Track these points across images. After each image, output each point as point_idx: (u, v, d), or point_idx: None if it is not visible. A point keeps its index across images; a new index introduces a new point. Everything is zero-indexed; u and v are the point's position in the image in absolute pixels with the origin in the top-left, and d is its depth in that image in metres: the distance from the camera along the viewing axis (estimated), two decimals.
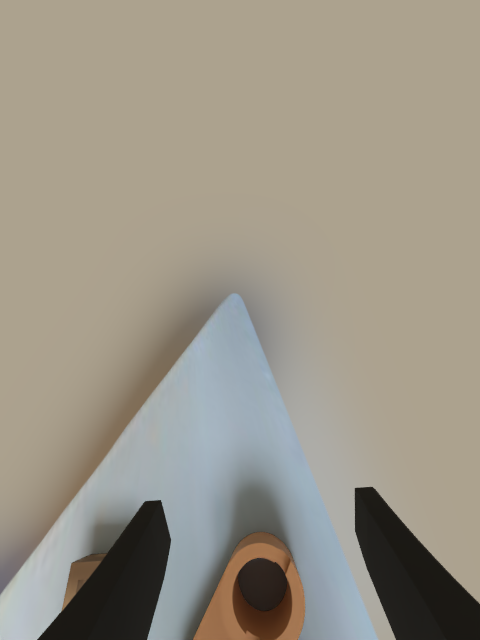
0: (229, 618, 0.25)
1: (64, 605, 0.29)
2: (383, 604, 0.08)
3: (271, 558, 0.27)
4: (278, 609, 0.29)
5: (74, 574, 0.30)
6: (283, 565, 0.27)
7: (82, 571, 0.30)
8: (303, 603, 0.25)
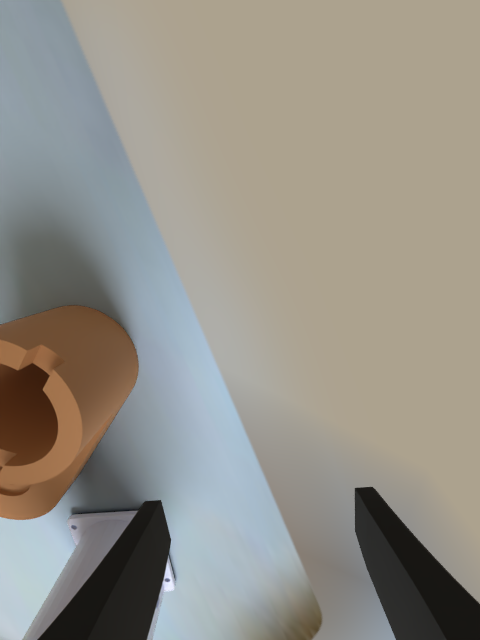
0: None
1: None
2: (383, 604, 0.08)
3: (9, 363, 0.12)
4: None
5: None
6: (51, 370, 0.13)
7: None
8: (79, 427, 0.13)
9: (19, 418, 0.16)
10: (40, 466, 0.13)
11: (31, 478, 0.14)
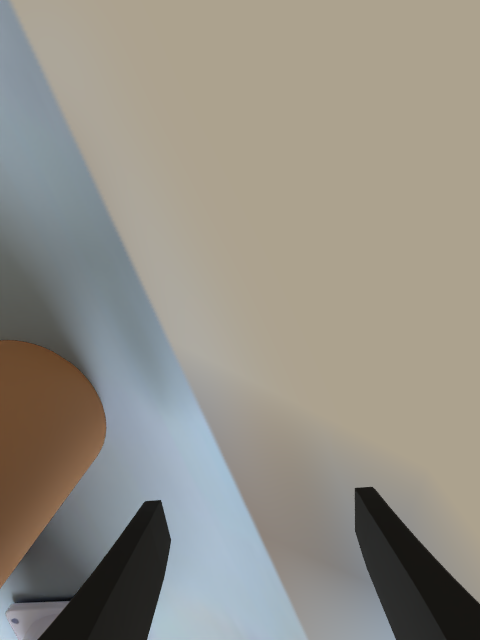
0: None
1: None
2: (383, 604, 0.08)
3: None
4: None
5: None
6: None
7: None
8: None
9: None
10: None
11: None
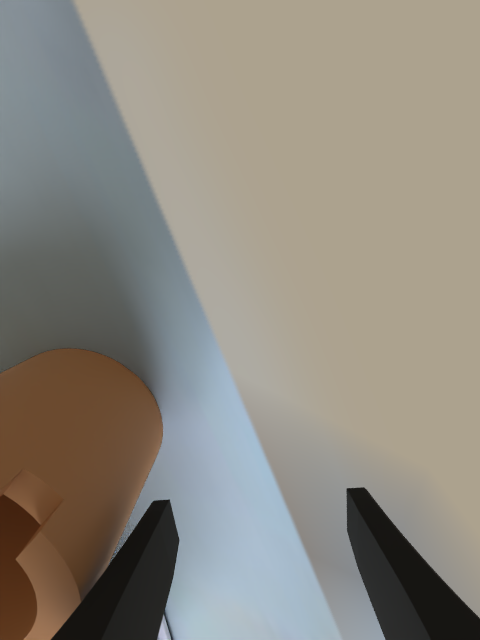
0: None
1: None
2: (373, 604, 0.08)
3: None
4: None
5: None
6: (36, 510, 0.07)
7: None
8: None
9: None
10: None
11: None
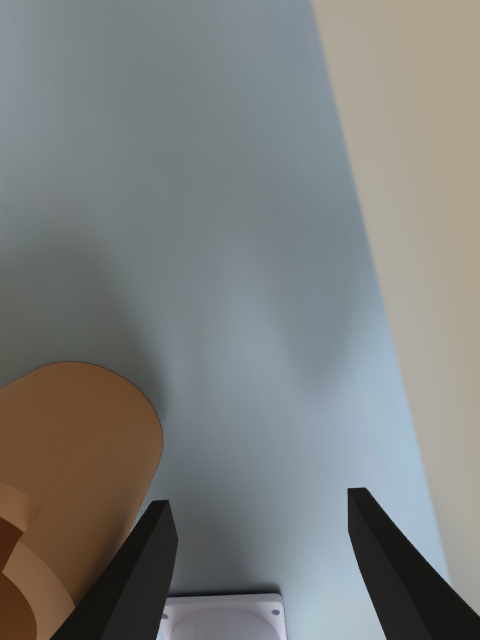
0: None
1: None
2: (374, 604, 0.08)
3: None
4: None
5: None
6: (20, 521, 0.07)
7: None
8: None
9: None
10: None
11: None
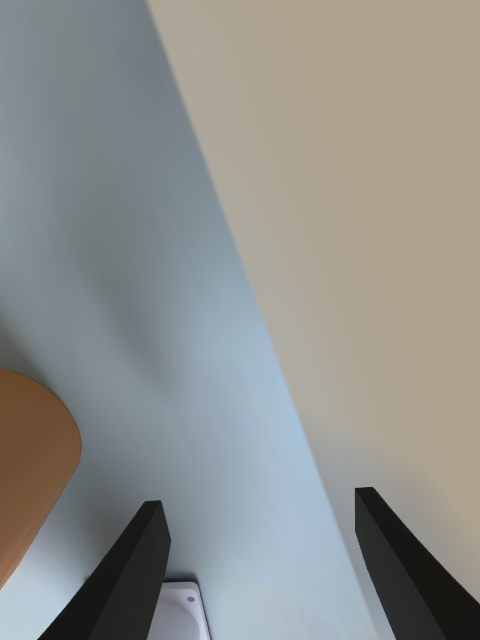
0: None
1: None
2: (383, 604, 0.08)
3: None
4: None
5: None
6: None
7: None
8: None
9: None
10: None
11: None
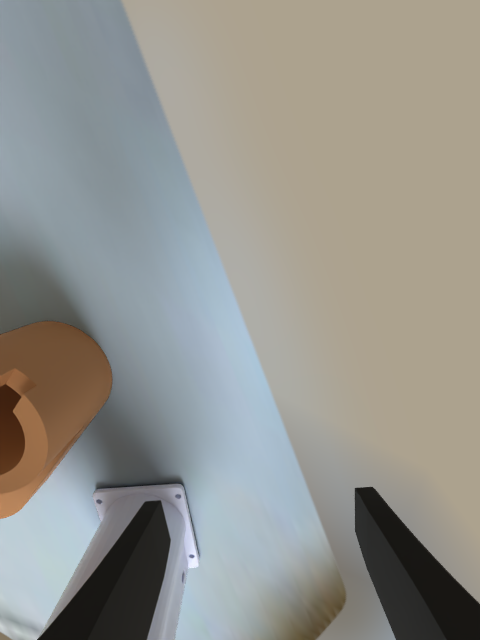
0: None
1: None
2: (383, 604, 0.08)
3: None
4: None
5: None
6: (22, 392, 0.14)
7: None
8: (45, 447, 0.14)
9: None
10: (5, 479, 0.14)
11: None
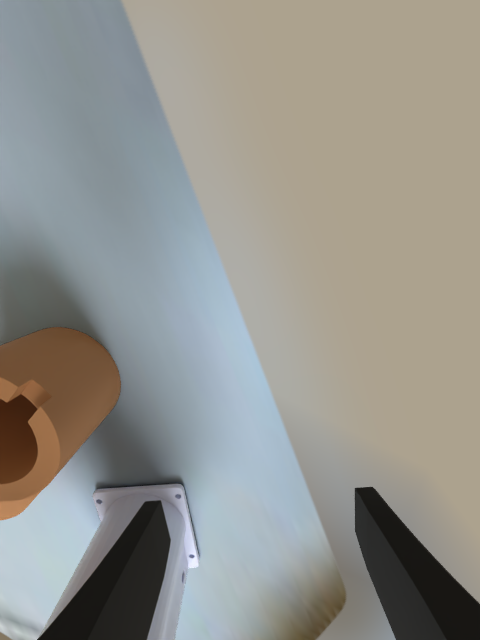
0: None
1: None
2: (383, 604, 0.08)
3: (0, 395, 0.13)
4: None
5: None
6: (37, 403, 0.14)
7: None
8: (57, 458, 0.14)
9: (0, 432, 0.17)
10: (15, 487, 0.15)
11: (5, 496, 0.15)
